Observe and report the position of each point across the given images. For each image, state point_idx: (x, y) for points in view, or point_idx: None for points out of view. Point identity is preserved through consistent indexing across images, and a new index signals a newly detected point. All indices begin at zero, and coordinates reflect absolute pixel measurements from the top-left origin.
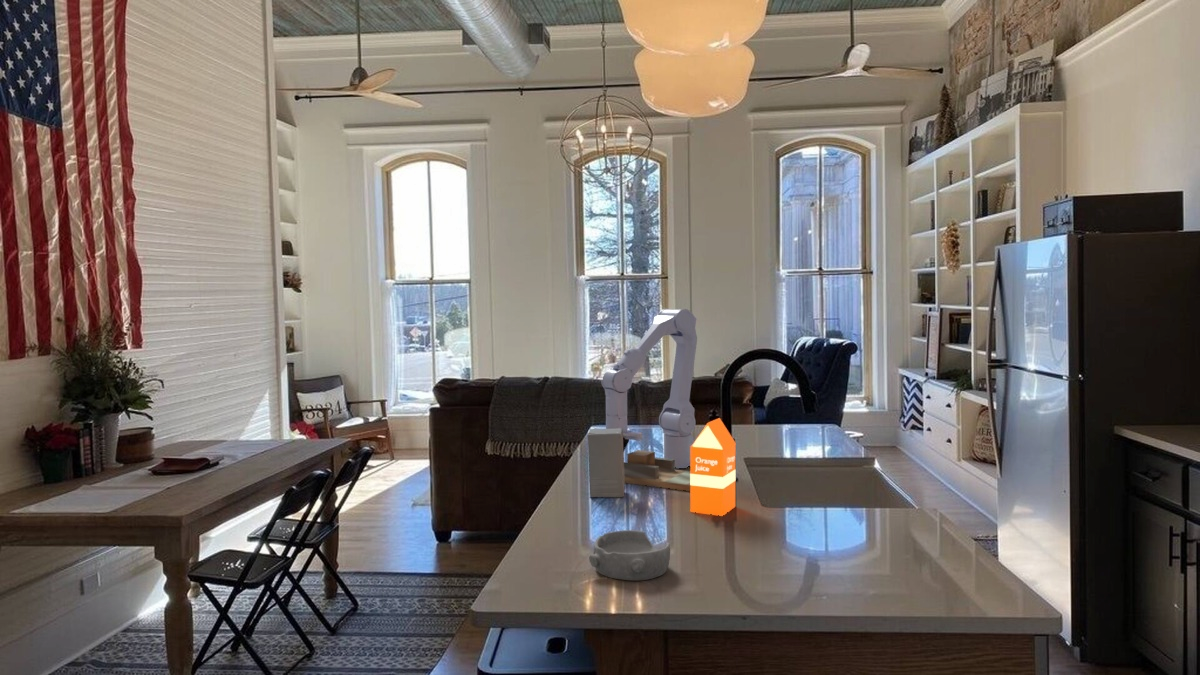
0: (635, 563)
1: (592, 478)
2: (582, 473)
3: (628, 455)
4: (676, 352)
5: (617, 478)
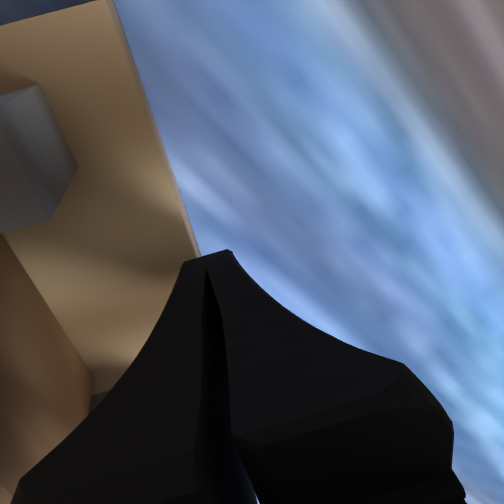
0: None
1: None
2: (466, 69)
3: None
4: None
5: None
